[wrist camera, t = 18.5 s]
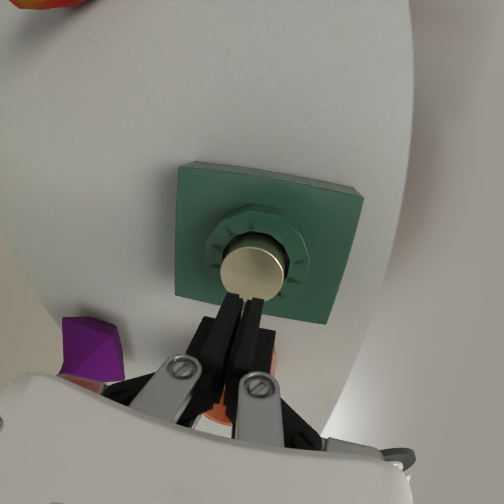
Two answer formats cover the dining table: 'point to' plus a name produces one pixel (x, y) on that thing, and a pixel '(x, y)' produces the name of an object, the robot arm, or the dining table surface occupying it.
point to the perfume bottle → (92, 349)
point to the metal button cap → (253, 268)
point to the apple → (44, 3)
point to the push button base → (264, 233)
